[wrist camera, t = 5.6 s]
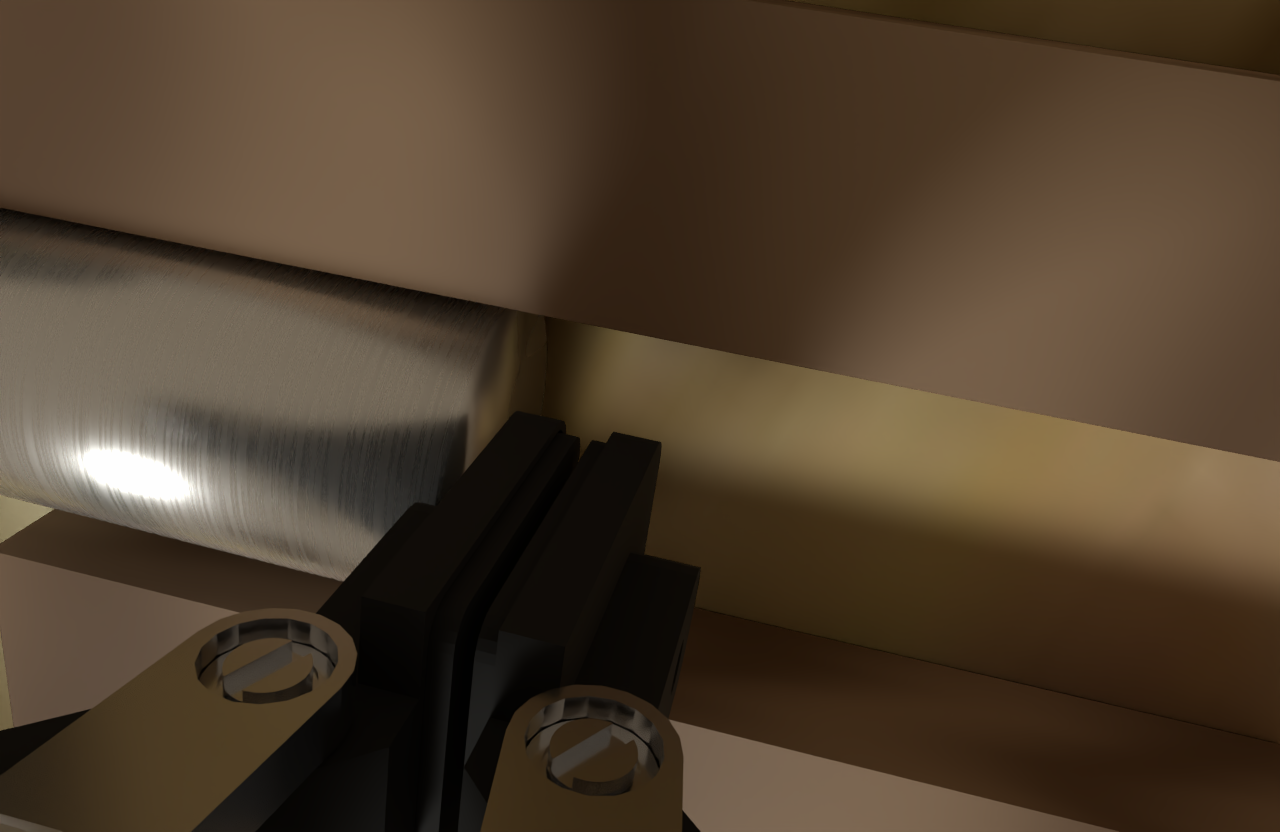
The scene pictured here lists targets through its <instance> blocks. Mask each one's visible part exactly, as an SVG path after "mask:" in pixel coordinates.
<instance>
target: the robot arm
mask: <svg viewBox="0 0 1280 832" xmlns="http://www.w3.org/2000/svg"><path fill="white" fill-rule="evenodd" d="M579 453H580V438H579V437H576V436H572V435H567V434H566V425H565V422H564V421H562V420H557V419H553V418H548V417H544V416H539V415H535V414H530V413H525V412H521V411H516V412H514V413H513V414H512V416H511V417H510V418H509V419H508V420H507V422H506V423H505V424H504V425H503V426H502V428H501V429H500V430H499V431H498V432H497V434H496V435H495V436H494V437H493V438H492V440H491V441H490V442H489V443H488V444H487V446H486V447H485V448H484V449H483V450H482V452H481V453H480V454H479V455H478V456H477V458H476V459H475V460H474V461H473V462H472V464H471V465H470V466H469V467H468V468H467V470H466V471H465V472H464V473H463V474H462V476H461V477H460V478H459V479H458V480H457V482H456V483H455V484H454V485H453V486H452V488H451V489H450V490H449V491H448V493H447V494H446V495H445V496H444V497H443V499H442V500H441V501H440V502H439V503H438V505H437V506H435V505H431V504H427V503H422V502H415V503H414V504H413V505H412V506H410V507H409V508H408V509H407V510H406V511H405V512H404V514H403V515H402V516H401V517H400V518H399V519H398V520H397V522H396V523H395V524H394V525H393V526H392V527H391V528H390V529H389V531H388V532H387V533H386V534H385V535H384V536H383V537H382V539H381V540H380V541H379V542H378V543H377V544H376V545H375V546H374V548H373V549H372V550H371V551H370V552H369V553H368V554H367V556H366V557H365V558H364V559H363V560H362V561H361V562H360V563H359V565H358V566H357V567H356V568H355V569H354V570H353V571H352V573H351V574H350V575H349V576H348V577H347V578H346V579H345V581H344V582H343V583H342V584H341V585H340V586H339V587H338V588H337V590H336V591H335V592H334V593H333V594H332V595H331V596H330V598H329V599H328V600H327V601H326V602H325V603H324V604H323V605H322V607H321V608H320V609H319V610H318V611H317V612H316V613H311V612H307V611H303V610H299V609H284V608H267V609H259V610H251V611H244V612H241V613H238V614H235V615H231V616H228V617H225V618H222V619H219V620H217V621H215V622H214V623H212V624H210V625H208V626H206V627H205V628H203V629H201V630H199V631H198V632H196V633H195V634H193V635H192V636H191V637H189V638H188V639H187V640H185V641H184V642H182V643H181V644H180V645H178V646H177V647H176V648H174V649H173V650H172V651H170V652H169V653H167V654H166V655H165V656H163V657H162V658H161V659H159V660H158V661H156V662H155V663H154V664H152V665H151V666H150V667H148V668H147V669H146V670H144V671H143V672H141V673H140V674H139V675H137V676H136V677H135V678H133V679H132V680H130V681H129V682H128V683H126V684H125V685H124V686H122V687H121V688H119V689H118V690H117V691H115V692H114V693H113V694H111V695H110V696H109V697H107V698H106V699H104V700H103V701H102V702H100V703H99V704H98V705H96V706H95V707H93V708H92V709H88V710H84V711H80V712H76V713H72V714H67V715H63V716H59V717H55V718H51V719H47V720H43V721H39V722H35V723H31V724H26V725H22V726H18V727H14V728H10V729H6V730H2V731H0V832H701V831H700V830H699V829H698V828H697V827H696V825H695V824H694V823H693V822H692V821H691V819H690V818H689V817H688V816H687V815H686V813H685V812H684V811H683V810H682V808H683V762H684V756H683V751H682V746H681V741H680V736H679V735H678V733H677V732H676V730H675V729H674V727H673V725H672V724H671V722H670V721H669V719H668V718H669V715H670V711H671V707H672V703H673V700H674V696H675V692H676V688H677V684H678V680H679V675H680V671H681V667H682V662H683V658H684V653H685V649H686V644H687V639H688V634H689V630H690V625H691V620H692V614H693V609H694V604H695V599H696V594H697V589H698V583H699V577H700V569H701V567H696V566H692V565H688V564H684V563H679V562H675V561H671V560H666V559H662V558H658V557H654V556H649V555H645V554H644V551H645V546H646V540H647V534H648V528H649V522H650V516H651V510H652V504H653V498H654V492H655V486H656V480H657V475H658V469H659V463H660V456H661V442H658V441H653V440H649V439H644V438H640V437H635V436H631V435H626V434H621V433H617V432H613V433H612V434H611V436H610V438H609V439H608V441H607V443H603V442H599V441H594V440H592V441H591V442H590V444H589V446H588V447H587V449H586V451H585V452H584V454H583V455H582V457H581V459H580V460H579ZM578 460H579V462H578Z"/></svg>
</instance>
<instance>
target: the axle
mask: <svg viewBox="0 0 1280 832" xmlns="http://www.w3.org/2000/svg"><path fill="white" fill-rule="evenodd" d="M546 366H547V336H546V326H545V320H544V316H543V315H538V314H533V313H528V312H523V311H518V310H513V309H508V308H503V307H498V306H493V305H488V304H483V303H478V302H473V301H468V300H463V299H458V298H453V297H448V296H443V295H438V294H433V293H428V292H423V291H417V290H412V289H407V288H402V287H397V286H392V285H387V284H382V283H377V282H372V281H367V280H362V279H357V278H352V277H347V276H342V275H337V274H332V273H327V272H322V271H317V270H312V269H307V268H302V267H297V266H292V265H287V264H282V263H277V262H271V261H266V260H261V259H256V258H251V257H246V256H241V255H236V254H231V253H226V252H221V251H216V250H211V249H206V248H201V247H196V246H191V245H186V244H181V243H176V242H171V241H166V240H161V239H156V238H151V237H146V236H141V235H136V234H131V233H125V232H120V231H115V230H110V229H105V228H100V227H95V226H90V225H85V224H80V223H75V222H70V221H65V220H60V219H55V218H50V217H45V216H40V215H35V214H30V213H25V212H20V211H15V210H10V209H5V208H0V495H3V496H7V497H11V498H15V499H19V500H23V501H27V502H31V503H34V504H38V505H42V506H46V507H50V508H54V509H58V510H62V511H66V512H70V513H74V514H78V515H82V516H86V517H90V518H94V519H98V520H102V521H106V522H109V523H113V524H117V525H121V526H125V527H129V528H133V529H137V530H141V531H145V532H149V533H153V534H157V535H161V536H165V537H169V538H173V539H177V540H181V541H184V542H188V543H192V544H196V545H200V546H204V547H208V548H212V549H216V550H220V551H224V552H228V553H232V554H236V555H240V556H244V557H248V558H252V559H256V560H260V561H263V562H267V563H271V564H275V565H279V566H283V567H287V568H291V569H295V570H299V571H303V572H307V573H311V574H315V575H319V576H323V577H327V578H331V579H335V580H338V581H342V582H344V581H345V579H346V578H347V577H348V576H349V575H350V574H351V573H352V571H353V570H354V569H355V568H356V567H357V566H358V565H359V563H360V562H361V561H362V560H363V559H364V558H365V557H366V556H367V554H368V553H369V552H370V551H371V550H372V549H373V548H374V546H375V545H376V544H377V543H378V542H379V541H380V540H381V539H382V537H383V536H384V535H385V534H386V533H387V532H388V531H389V529H390V528H391V527H392V526H393V525H394V524H395V523H396V522H397V520H398V519H399V518H400V517H401V516H402V515H403V514H404V512H405V511H406V510H407V509H408V508H409V507H410V506H412V505H413V504H414V503H415V502H422V503H427V504H431V505H435V506H437V505H438V503H439V502H440V501H441V500H442V499H443V497H444V496H445V495H446V494H447V493H448V491H449V490H450V489H451V488H452V486H453V485H454V484H455V483H456V482H457V480H458V479H459V478H460V477H461V476H462V474H463V473H464V472H465V471H466V470H467V468H468V467H469V466H470V465H471V464H472V462H473V461H474V460H475V459H476V458H477V456H478V455H479V454H480V453H481V452H482V450H483V449H484V448H485V447H486V446H487V444H488V443H489V442H490V441H491V440H492V438H493V437H494V436H495V435H496V434H497V432H498V431H499V430H500V429H501V428H502V426H503V425H504V424H505V423H506V422H507V420H508V419H509V418H510V417H511V416H512V414H513V413H514V412H516V411H521V412H525V413H530V414H535V415H539V416H541V413H542V406H543V399H544V390H545V381H546Z"/></svg>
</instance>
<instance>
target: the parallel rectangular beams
mask: <svg viewBox="0 0 1280 832" xmlns="http://www.w3.org/2000/svg"><path fill="white" fill-rule="evenodd" d="M0 208H5V209H10V210H15V211H20V212H25V213H30V214H35V215H40V216H45V217H50V218H55V219H60V220H65V221H70V222H75V223H80V224H85V225H90V226H95V227H100V228H105V229H110V230H115V231H120V232H125V233H131V234H136V235H141V236H146V237H151V238H156V239H161V240H166V241H171V242H176V243H181V244H186V245H191V246H196V247H201V248H206V249H211V250H216V251H221V252H226V253H231V254H236V255H241V256H246V257H251V258H256V259H261V260H266V261H271V262H277V263H282V264H287V265H292V266H297V267H302V268H307V269H312V270H317V271H322V272H327V273H332V274H337V275H342V276H347V277H352V278H357V279H362V280H367V281H372V282H377V283H382V284H387V285H392V286H397V287H402V288H407V289H412V290H417V291H423V292H428V293H433V294H438V295H443V296H448V297H453V298H458V299H463V300H468V301H473V302H478V303H483V304H488V305H493V306H498V307H503V308H508V309H513V310H518V311H523V312H528V313H533V314H538V315H543V316H548V317H553V318H558V319H563V320H569V321H574V322H579V323H584V324H589V325H594V326H599V327H604V328H609V329H614V330H619V331H624V332H629V333H634V334H639V335H644V336H649V337H654V338H659V339H664V340H669V341H674V342H679V343H684V344H689V345H694V346H699V347H704V348H709V349H715V350H720V351H725V352H730V353H735V354H740V355H745V356H750V357H755V358H760V359H765V360H770V361H775V362H780V363H785V364H790V365H795V366H800V367H805V368H810V369H815V370H820V371H825V372H830V373H835V374H840V375H845V376H850V377H855V378H861V379H866V380H871V381H876V382H881V383H886V384H891V385H896V386H901V387H906V388H911V389H916V390H921V391H926V392H931V393H936V394H941V395H946V396H951V397H956V398H961V399H966V400H971V401H976V402H981V403H986V404H991V405H996V406H1001V407H1007V408H1012V409H1017V410H1022V411H1027V412H1032V413H1037V414H1042V415H1047V416H1052V417H1057V418H1062V419H1067V420H1072V421H1077V422H1082V423H1087V424H1092V425H1097V426H1102V427H1107V428H1112V429H1117V430H1122V431H1127V432H1132V433H1137V434H1142V435H1147V436H1153V437H1158V438H1163V439H1168V440H1173V441H1178V442H1183V443H1188V444H1193V445H1198V446H1203V447H1208V448H1213V449H1218V450H1223V451H1228V452H1233V453H1238V454H1243V455H1248V456H1253V457H1258V458H1263V459H1268V460H1273V461H1278V462H1280V75H1276V74H1269V73H1263V72H1256V71H1249V70H1243V69H1236V68H1230V67H1223V66H1216V65H1210V64H1203V63H1196V62H1190V61H1183V60H1177V59H1170V58H1163V57H1157V56H1150V55H1144V54H1137V53H1130V52H1124V51H1117V50H1110V49H1104V48H1097V47H1091V46H1084V45H1077V44H1071V43H1064V42H1058V41H1051V40H1044V39H1038V38H1031V37H1025V36H1018V35H1011V34H1005V33H998V32H991V31H985V30H978V29H972V28H965V27H958V26H952V25H945V24H939V23H932V22H925V21H919V20H912V19H906V18H899V17H892V16H886V15H879V14H872V13H866V12H859V11H853V10H846V9H839V8H833V7H826V6H820V5H813V4H806V3H800V2H793V1H786V0H0ZM342 583H343V582H342V581H338V580H335V579H331V578H327V577H323V576H319V575H315V574H311V573H307V572H303V571H299V570H295V569H291V568H287V567H283V566H279V565H275V564H271V563H267V562H263V561H260V560H256V559H252V558H248V557H244V556H240V555H236V554H232V553H228V552H224V551H220V550H216V549H212V548H208V547H204V546H200V545H196V544H192V543H188V542H184V541H181V540H177V539H173V538H169V537H165V536H161V535H157V534H153V533H149V532H145V531H141V530H137V529H133V528H129V527H125V526H121V525H117V524H113V523H109V522H106V521H102V520H98V519H94V518H90V517H86V516H82V515H78V514H74V513H70V512H66V511H62V510H58V509H54V510H52V511H51V512H49V513H48V514H46V515H44V516H43V517H41V518H40V519H38V520H37V521H35V522H33V523H32V524H30V525H29V526H27V527H26V528H24V529H22V530H21V531H19V532H18V533H16V534H15V535H13V536H11V537H10V538H8V539H7V540H5V541H4V542H2V543H0V631H1V638H2V645H3V653H4V660H5V667H6V674H7V682H8V689H9V696H10V703H11V711H12V718H13V725H14V727H18V726H22V725H26V724H31V723H35V722H39V721H43V720H47V719H51V718H55V717H59V716H63V715H67V714H72V713H76V712H80V711H84V710H88V709H92V708H93V707H95V706H96V705H98V704H99V703H100V702H102V701H103V700H104V699H106V698H107V697H109V696H110V695H111V694H113V693H114V692H115V691H117V690H118V689H119V688H121V687H122V686H124V685H125V684H126V683H128V682H129V681H130V680H132V679H133V678H135V677H136V676H137V675H139V674H140V673H141V672H143V671H144V670H146V669H147V668H148V667H150V666H151V665H152V664H154V663H155V662H156V661H158V660H159V659H161V658H162V657H163V656H165V655H166V654H167V653H169V652H170V651H172V650H173V649H174V648H176V647H177V646H178V645H180V644H181V643H182V642H184V641H185V640H187V639H188V638H189V637H191V636H192V635H193V634H195V633H196V632H198V631H199V630H201V629H203V628H205V627H206V626H208V625H210V624H212V623H214V622H215V621H217V620H219V619H222V618H225V617H228V616H231V615H235V614H238V613H241V612H244V611H251V610H259V609H267V608H284V609H299V610H303V611H307V612H311V613H316V612H317V611H318V610H319V609H320V608H321V607H322V605H323V604H324V603H325V602H326V601H327V600H328V599H329V598H330V596H331V595H332V594H333V593H334V592H335V591H336V590H337V588H338V587H339V586H340V585H341V584H342ZM668 719H669V721H670V722H671V724H672V725H673V727H674V729H675V730H676V732H677V733H678V735H679V736H680V741H681V746H682V751H683V756H684V762H683V808H682V810H683V811H684V812H685V813H686V815H687V816H688V817H689V818H690V819H691V821H692V822H693V823H694V824H695V825H696V827H697V828H698V829H699V830H700V831H701V832H1280V744H1276V743H1272V742H1268V741H1263V740H1259V739H1255V738H1250V737H1246V736H1242V735H1238V734H1233V733H1229V732H1225V731H1220V730H1216V729H1212V728H1208V727H1203V726H1199V725H1195V724H1190V723H1186V722H1182V721H1178V720H1173V719H1169V718H1165V717H1160V716H1156V715H1152V714H1148V713H1143V712H1139V711H1135V710H1130V709H1126V708H1122V707H1118V706H1113V705H1109V704H1105V703H1100V702H1096V701H1092V700H1088V699H1083V698H1079V697H1075V696H1070V695H1066V694H1062V693H1058V692H1053V691H1049V690H1045V689H1040V688H1036V687H1032V686H1028V685H1023V684H1019V683H1015V682H1010V681H1006V680H1002V679H998V678H993V677H989V676H985V675H980V674H976V673H972V672H968V671H963V670H959V669H955V668H950V667H946V666H942V665H938V664H933V663H929V662H925V661H920V660H916V659H912V658H908V657H903V656H899V655H895V654H890V653H886V652H882V651H878V650H873V649H869V648H865V647H860V646H856V645H852V644H848V643H843V642H839V641H835V640H830V639H826V638H822V637H817V636H813V635H809V634H805V633H800V632H796V631H792V630H787V629H783V628H779V627H775V626H770V625H766V624H762V623H757V622H753V621H749V620H745V619H740V618H736V617H732V616H727V615H723V614H719V613H715V612H710V611H706V610H702V609H697V608H694V609H693V614H692V620H691V625H690V630H689V634H688V639H687V644H686V649H685V653H684V658H683V662H682V667H681V671H680V675H679V680H678V684H677V688H676V692H675V696H674V700H673V703H672V707H671V711H670V715H669V718H668Z"/></svg>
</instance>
